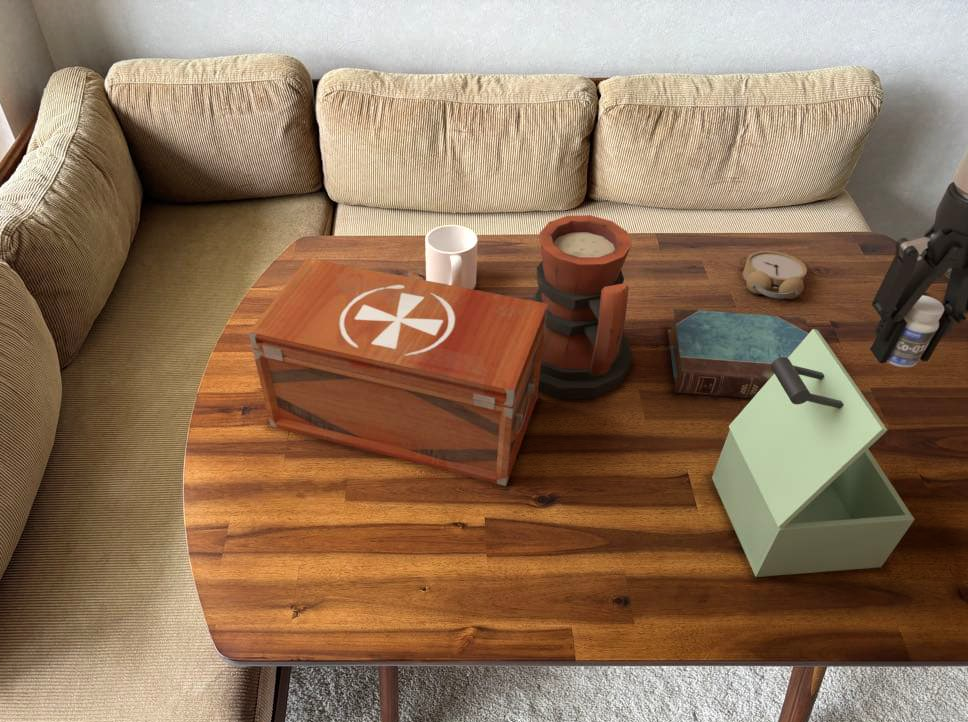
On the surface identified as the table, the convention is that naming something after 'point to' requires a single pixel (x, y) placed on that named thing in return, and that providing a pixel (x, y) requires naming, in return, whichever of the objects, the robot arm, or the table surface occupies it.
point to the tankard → (583, 307)
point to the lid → (804, 428)
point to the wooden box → (402, 367)
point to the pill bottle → (917, 332)
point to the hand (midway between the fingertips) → (898, 354)
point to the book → (729, 350)
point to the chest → (814, 519)
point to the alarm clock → (774, 274)
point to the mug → (451, 256)
